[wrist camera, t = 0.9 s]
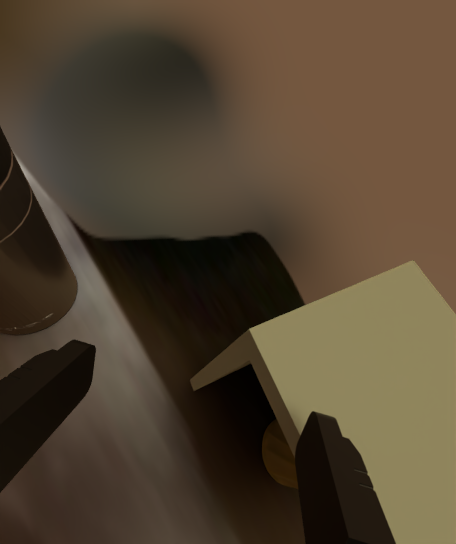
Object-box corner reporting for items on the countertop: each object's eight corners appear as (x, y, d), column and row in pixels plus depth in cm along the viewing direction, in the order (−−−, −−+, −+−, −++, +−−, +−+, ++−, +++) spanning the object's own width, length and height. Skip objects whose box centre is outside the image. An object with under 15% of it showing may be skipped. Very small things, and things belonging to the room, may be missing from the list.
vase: (302, 410, 30) (407, 405, 18) (322, 474, 28) (459, 519, 16) (254, 424, 28) (335, 430, 16) (270, 496, 26) (382, 566, 14)
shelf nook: (189, 380, 29) (249, 329, 12) (282, 337, 34) (413, 260, 17) (246, 533, 24) (472, 795, 7) (344, 455, 29) (605, 506, 13)
